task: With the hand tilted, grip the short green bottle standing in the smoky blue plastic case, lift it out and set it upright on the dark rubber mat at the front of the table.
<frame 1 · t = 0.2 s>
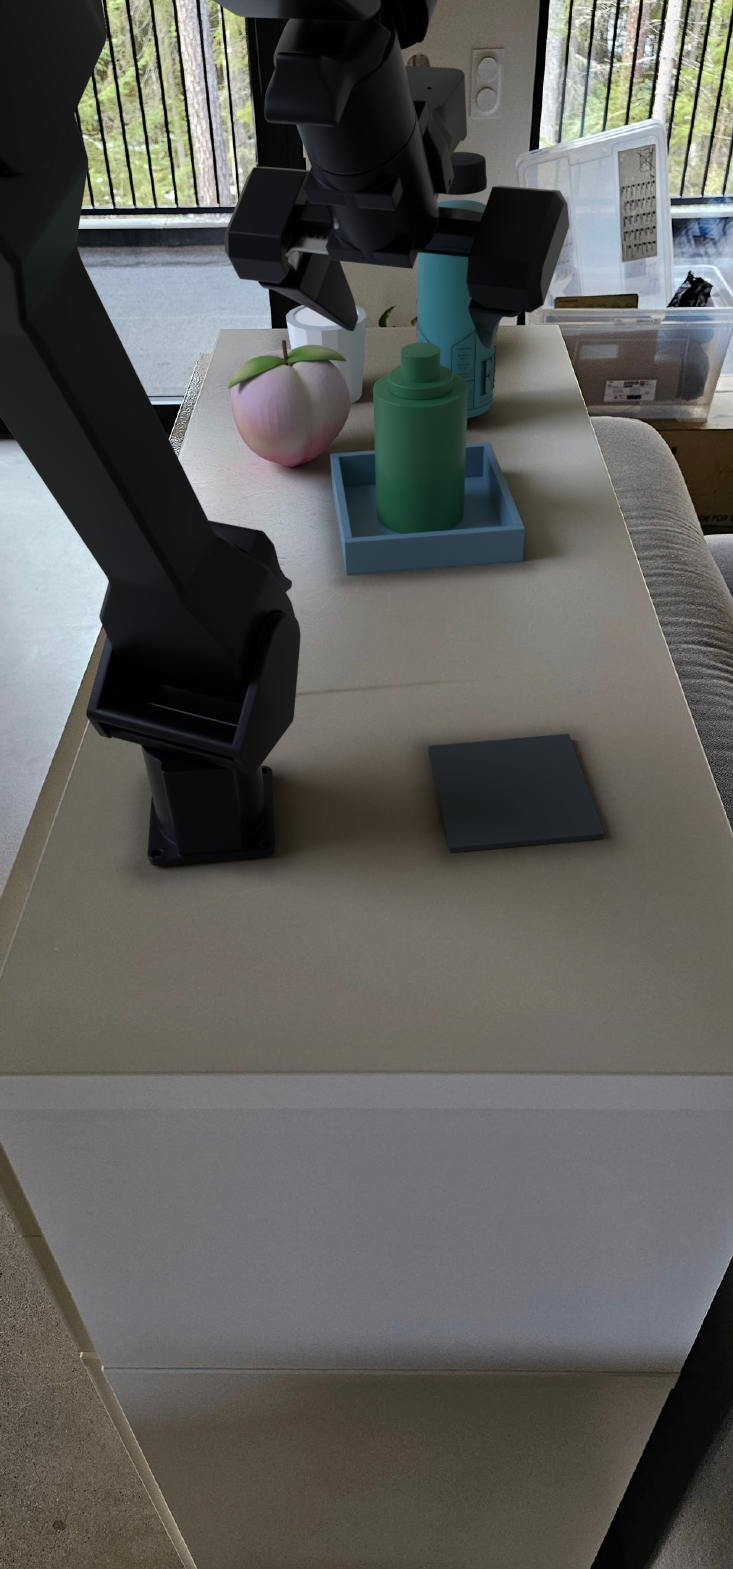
hand: (420, 333, 69), 15 cm above the cabinet, tool tilted 35°, fingers open, 9 cm apart
case: (421, 525, 80), on the cabinet
decorative fruit: (292, 467, 88), on the cabinet
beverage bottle: (453, 423, 93), on the cabinet
mat: (512, 792, 59), on the cabinet
green bottle: (420, 513, 81), resting on case
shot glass: (330, 397, 98), on the cabinet
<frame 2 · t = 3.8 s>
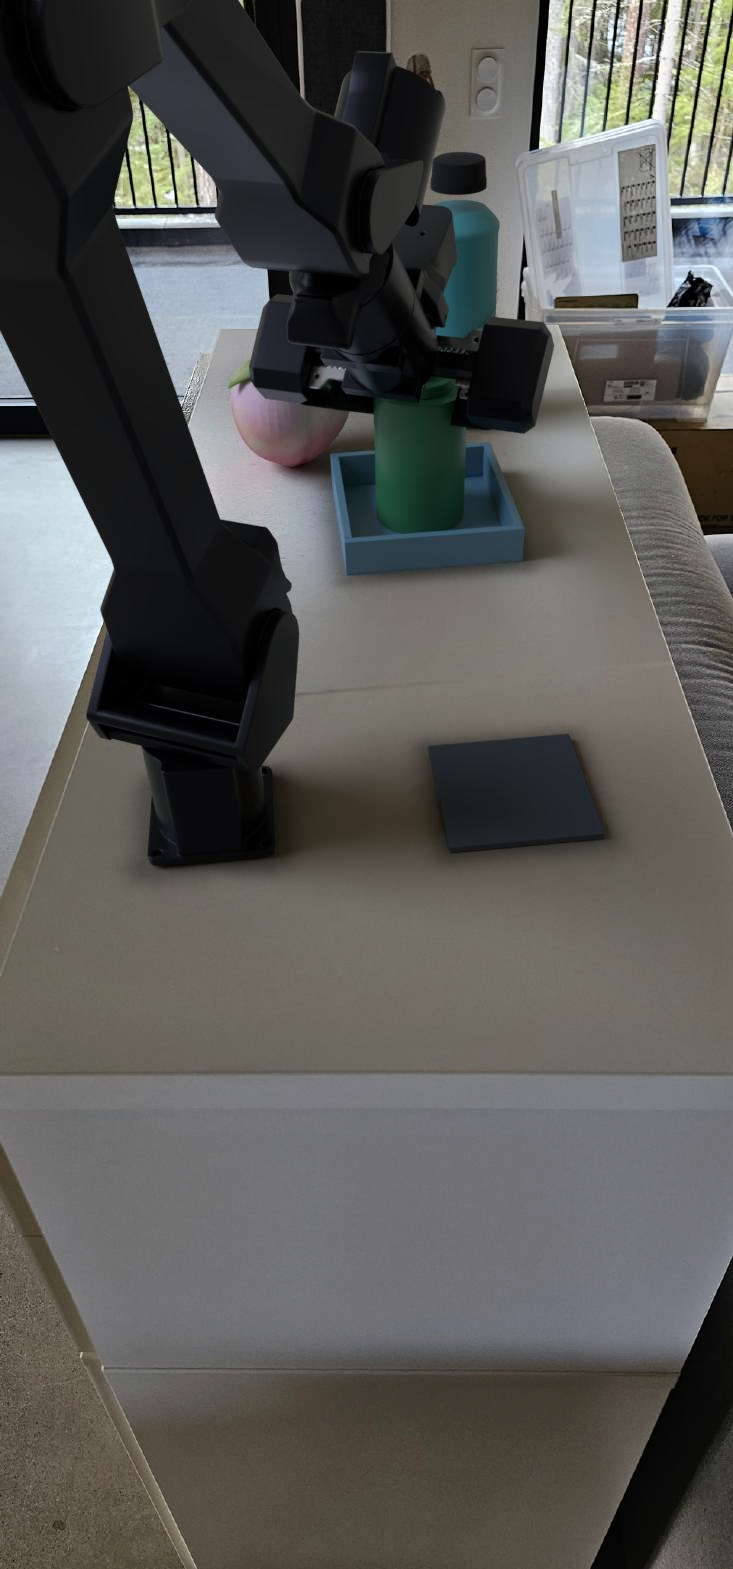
hand: (427, 413, 77), 7 cm above the cabinet, tool tilted 45°, fingers closed on green bottle, 6 cm apart
green bottle: (419, 513, 81), resting on case, touching gripper
everything else where it was.
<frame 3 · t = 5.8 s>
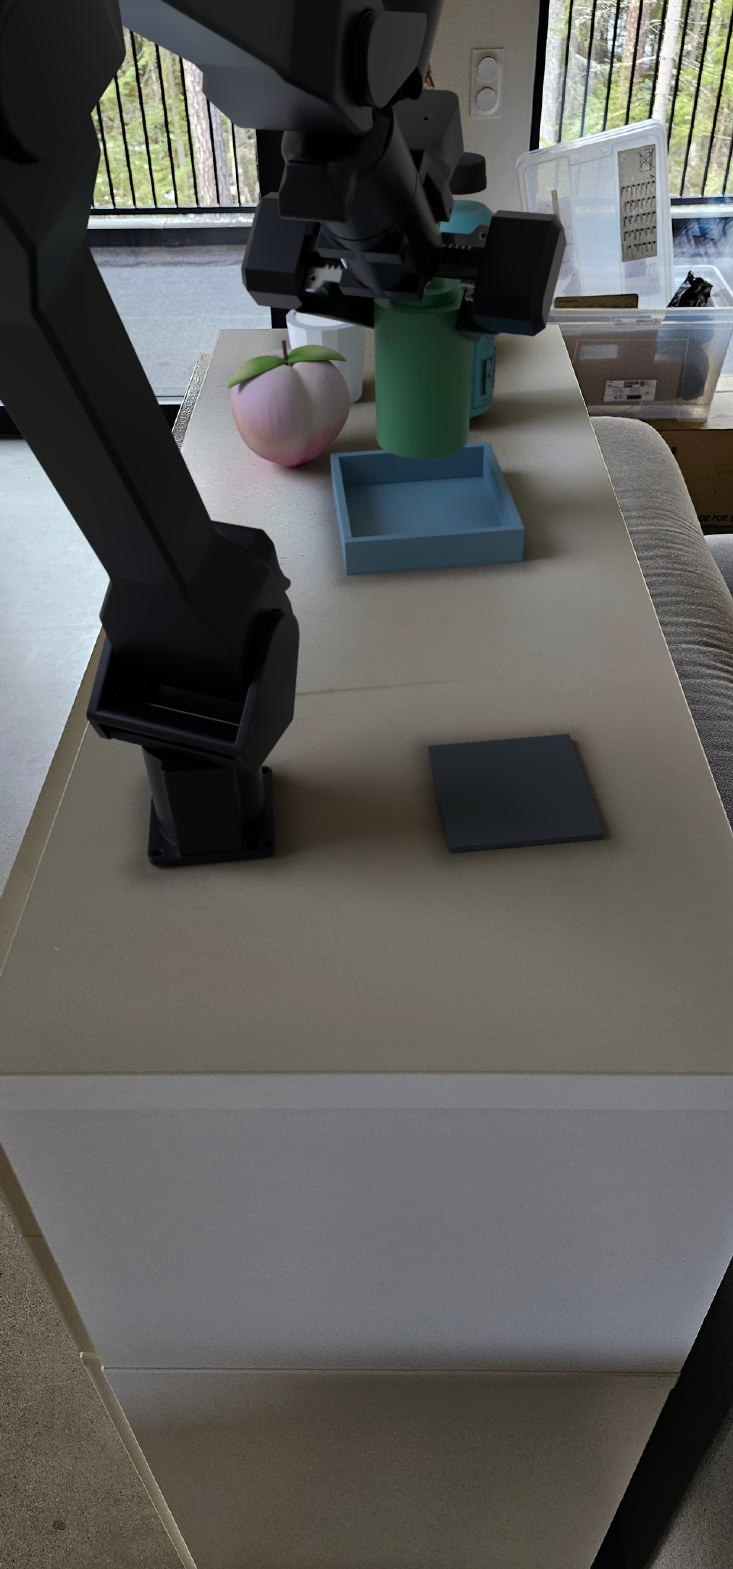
hand: (430, 328, 73), 13 cm above the cabinet, tool tilted 45°, fingers closed on green bottle, 6 cm apart
green bottle: (422, 438, 76), point 6 cm above the cabinet, touching gripper
everything else where it was.
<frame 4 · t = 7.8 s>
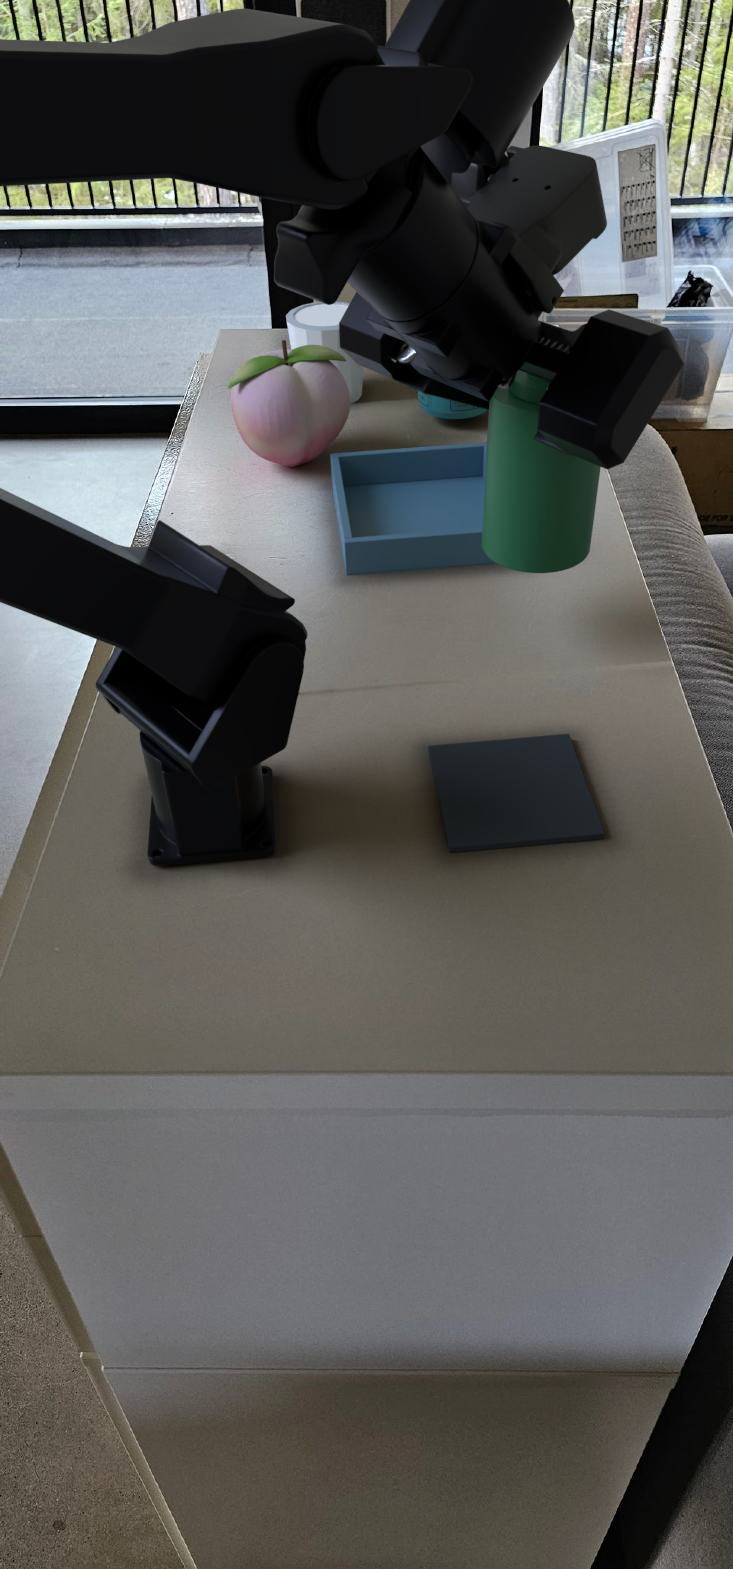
hand: (562, 425, 61), 13 cm above the cabinet, tool tilted 45°, fingers closed on green bottle, 6 cm apart
green bottle: (535, 545, 65), point 6 cm above the cabinet, touching gripper
everything else where it was.
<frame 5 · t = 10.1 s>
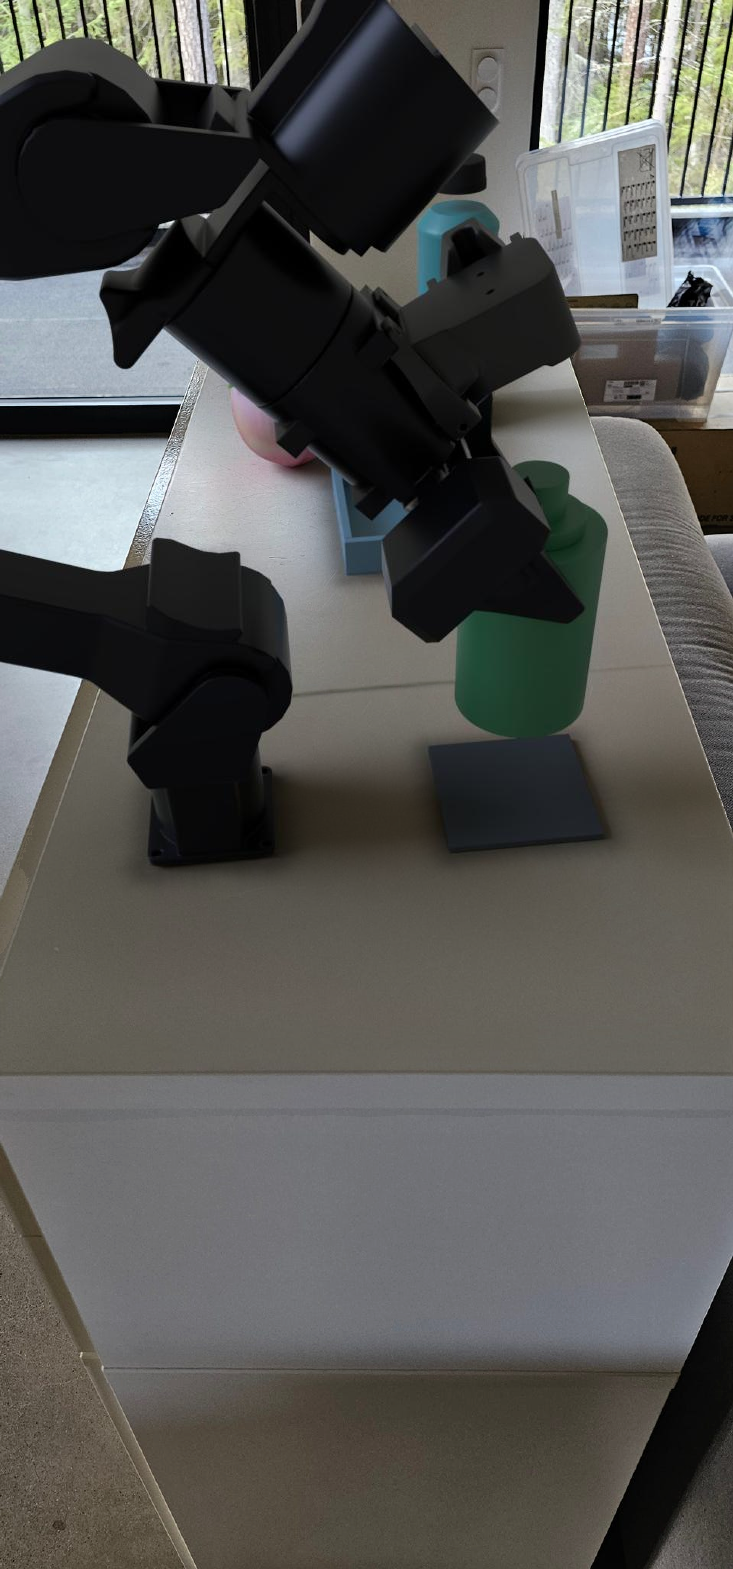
hand: (559, 574, 50), 13 cm above the cabinet, tool tilted 45°, fingers closed on green bottle, 6 cm apart
green bottle: (518, 697, 55), point 6 cm above the cabinet, touching gripper
everything else where it was.
when the fingers open (7 cm above the cabinet, at t = 12.3 s): green bottle stays where it is, resting on mat.
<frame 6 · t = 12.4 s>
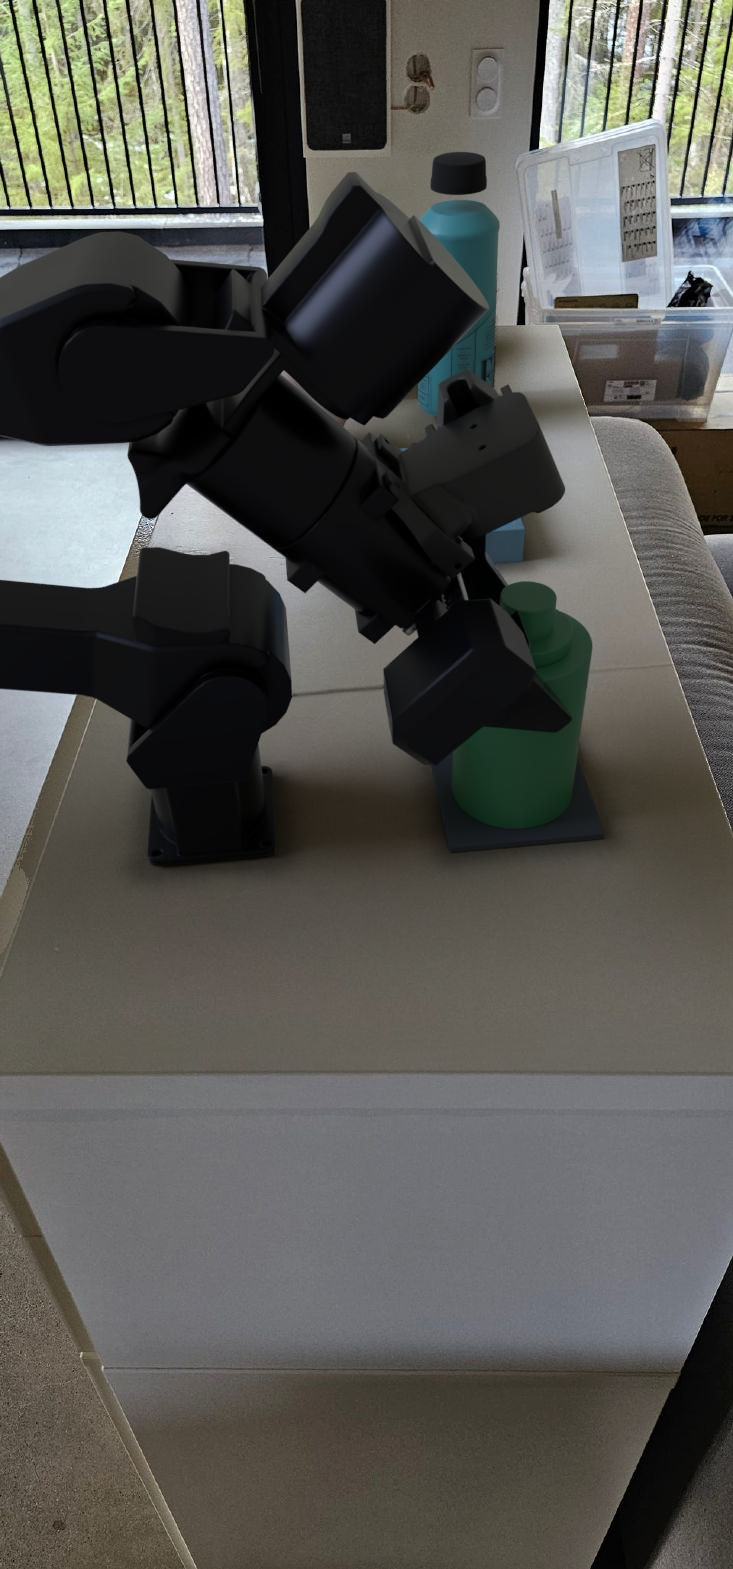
hand: (548, 680, 54), 7 cm above the cabinet, tool tilted 45°, fingers open, 6 cm apart
green bottle: (511, 787, 59), resting on mat
everything else where it was.
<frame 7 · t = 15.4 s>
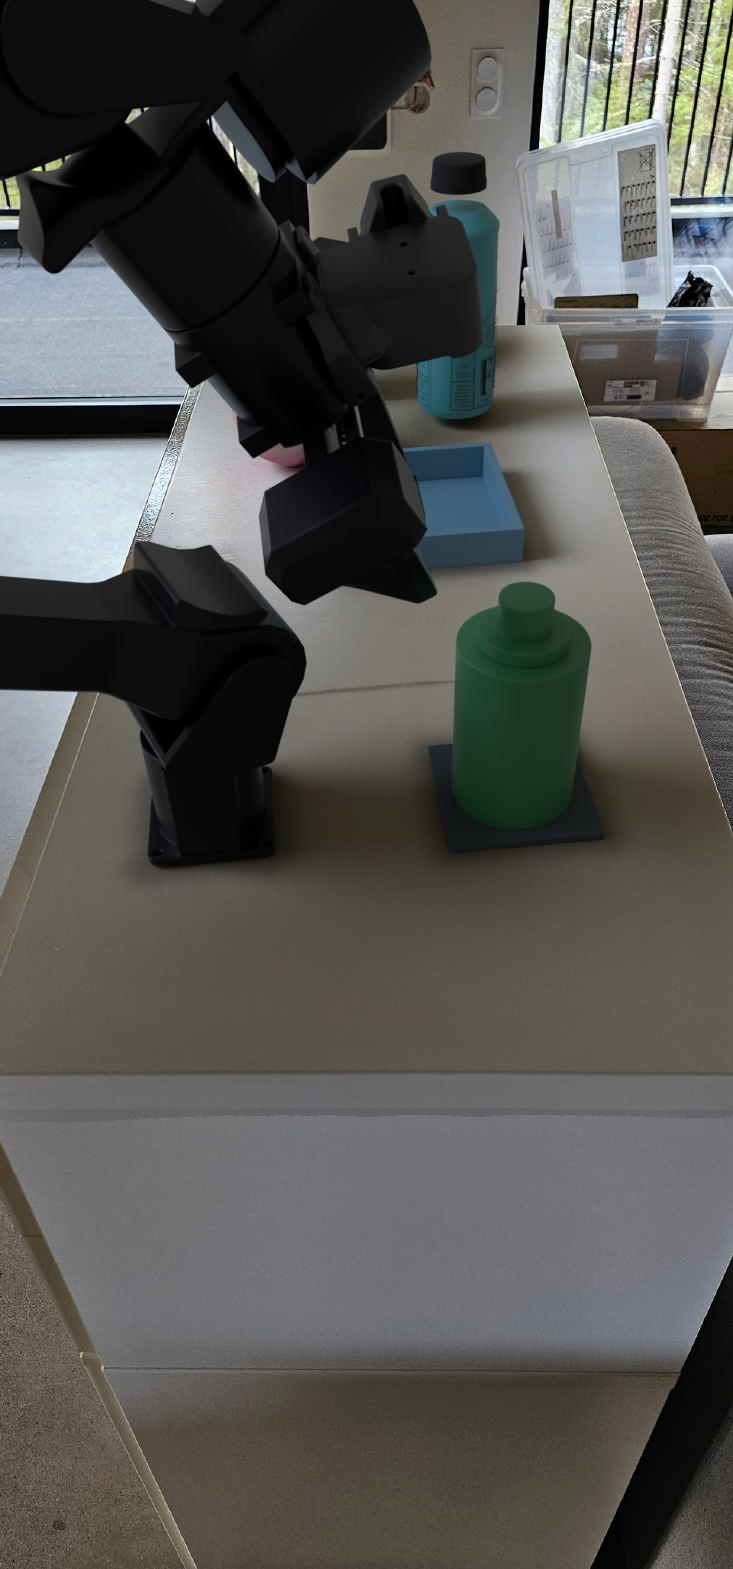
hand: (412, 528, 53), 14 cm above the cabinet, tool tilted 35°, fingers open, 9 cm apart
nothing on the cabinet moved.
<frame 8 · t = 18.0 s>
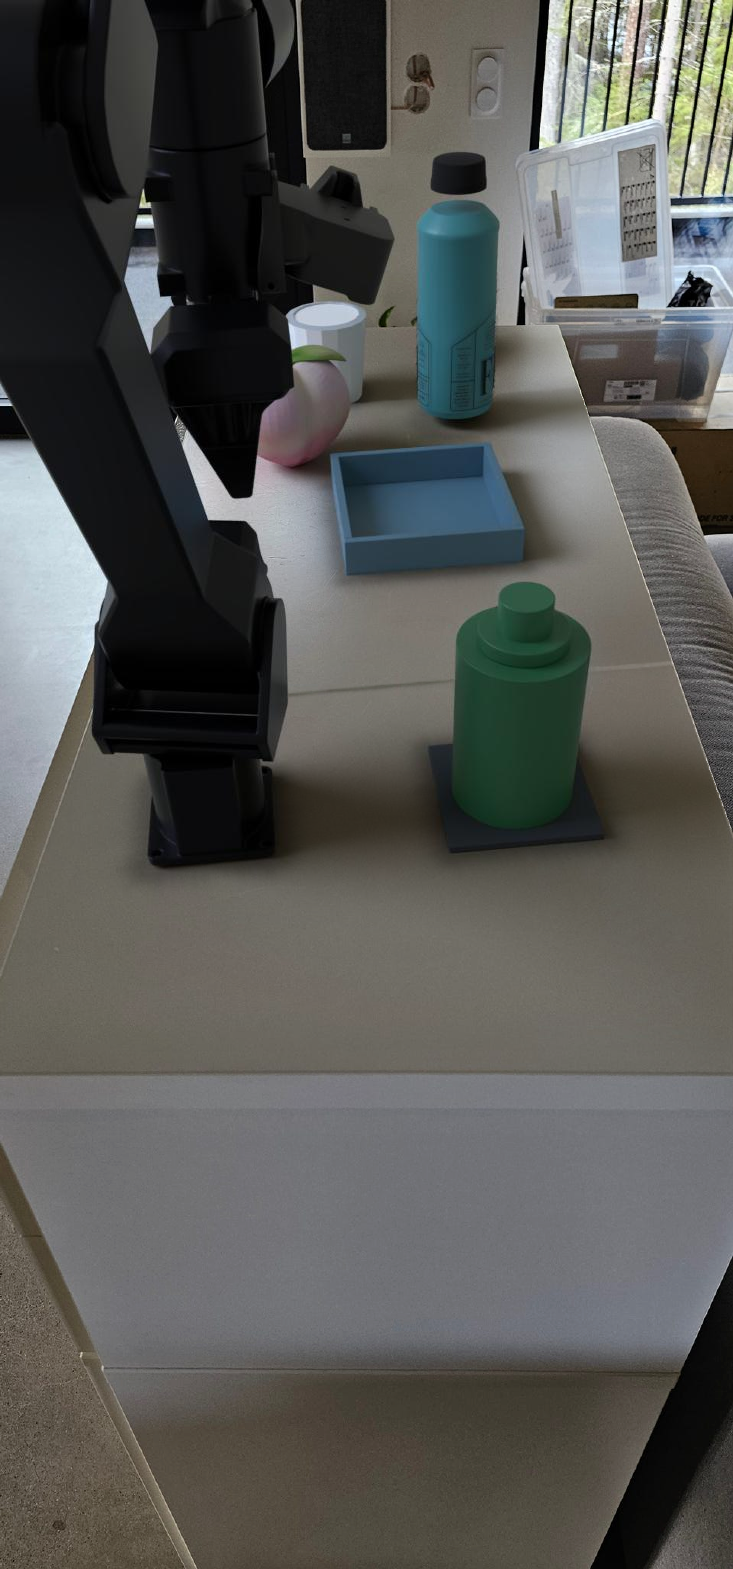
hand: (241, 457, 61), 13 cm above the cabinet, tool pointing down, fingers open, 9 cm apart
nothing on the cabinet moved.
at the end: green bottle inside the target area on the mat (0.1 cm from its centre), point 0.4 cm above the mat's base; green bottle tilted 0°; green bottle touching mat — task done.
